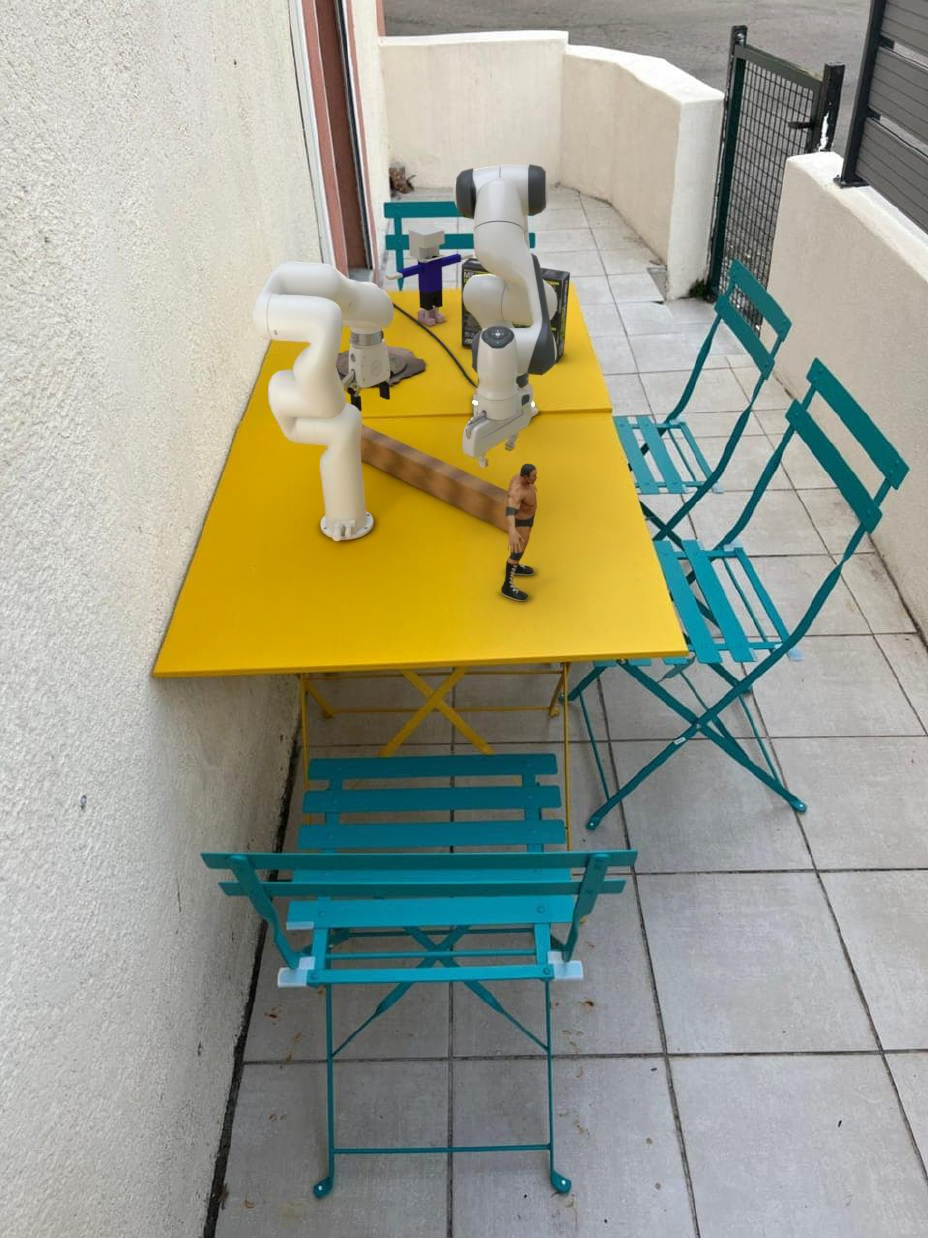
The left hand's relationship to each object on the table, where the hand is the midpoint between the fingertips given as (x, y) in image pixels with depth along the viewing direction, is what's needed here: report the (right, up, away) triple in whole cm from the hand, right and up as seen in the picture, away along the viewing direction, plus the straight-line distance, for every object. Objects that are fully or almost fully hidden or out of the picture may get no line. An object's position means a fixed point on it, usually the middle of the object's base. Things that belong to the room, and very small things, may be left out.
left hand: (370, 403), depth 223 cm
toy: (+12, +49, +84) cm, 99 cm away
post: (+16, -21, +1) cm, 26 cm away
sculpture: (-6, +25, +55) cm, 61 cm away
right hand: (+31, -17, -20) cm, 41 cm away
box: (+39, +33, +64) cm, 82 cm away
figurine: (+35, -47, -29) cm, 66 cm away
